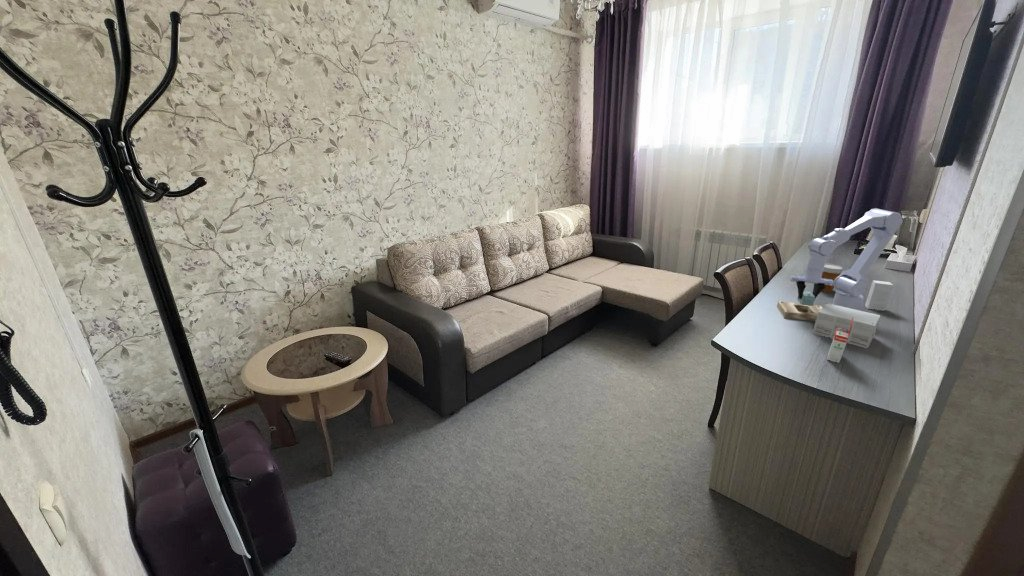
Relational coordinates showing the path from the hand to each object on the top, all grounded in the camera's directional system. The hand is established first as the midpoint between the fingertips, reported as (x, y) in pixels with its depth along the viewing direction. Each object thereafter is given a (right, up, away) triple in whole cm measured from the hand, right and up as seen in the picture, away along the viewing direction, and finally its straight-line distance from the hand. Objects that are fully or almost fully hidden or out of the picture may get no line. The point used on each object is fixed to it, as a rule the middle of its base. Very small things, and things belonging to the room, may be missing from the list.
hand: (806, 299), depth 171 cm
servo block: (0, -2, +1) cm, 2 cm away
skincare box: (+36, -4, +9) cm, 37 cm away
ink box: (-12, -19, -30) cm, 38 cm away
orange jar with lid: (+30, +4, +30) cm, 42 cm away
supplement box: (+3, -14, -15) cm, 20 cm away
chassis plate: (0, -6, +3) cm, 7 cm away
